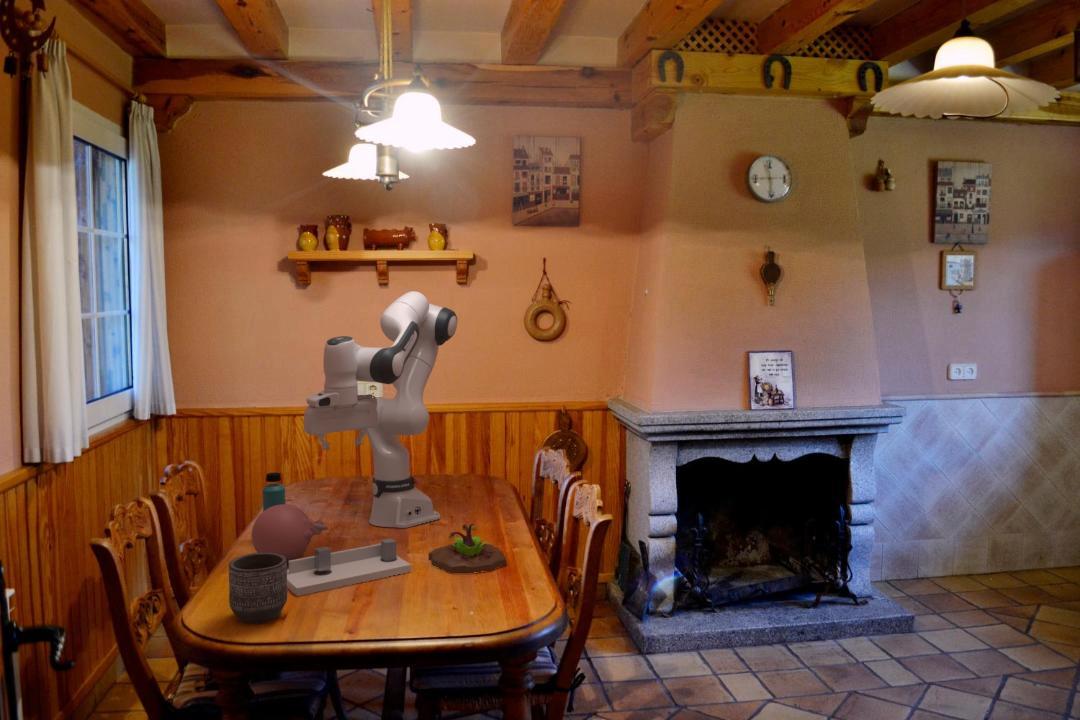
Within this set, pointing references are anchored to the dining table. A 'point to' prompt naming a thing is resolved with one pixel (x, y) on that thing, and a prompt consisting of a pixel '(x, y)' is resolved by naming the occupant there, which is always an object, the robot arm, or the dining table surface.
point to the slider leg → (322, 558)
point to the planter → (258, 587)
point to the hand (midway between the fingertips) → (342, 447)
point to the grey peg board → (346, 568)
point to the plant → (467, 554)
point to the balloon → (284, 531)
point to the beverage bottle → (273, 491)
